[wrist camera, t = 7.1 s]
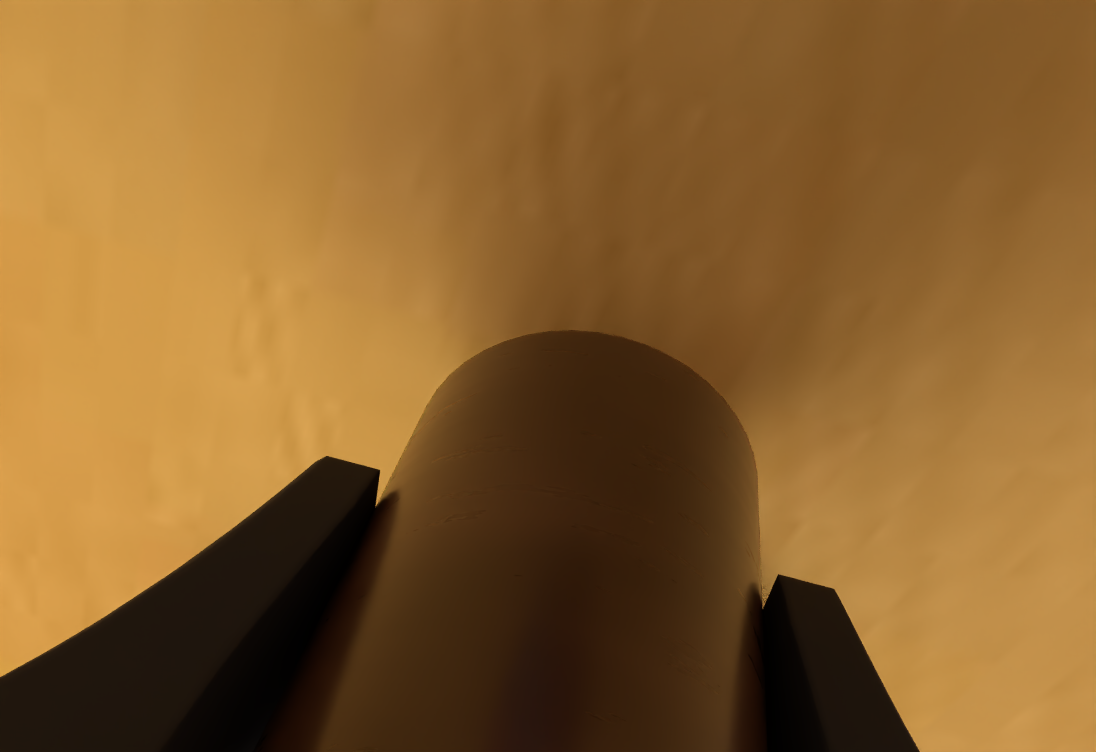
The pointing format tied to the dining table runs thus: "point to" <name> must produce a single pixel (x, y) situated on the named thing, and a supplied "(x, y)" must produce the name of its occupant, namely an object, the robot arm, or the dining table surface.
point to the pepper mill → (549, 570)
